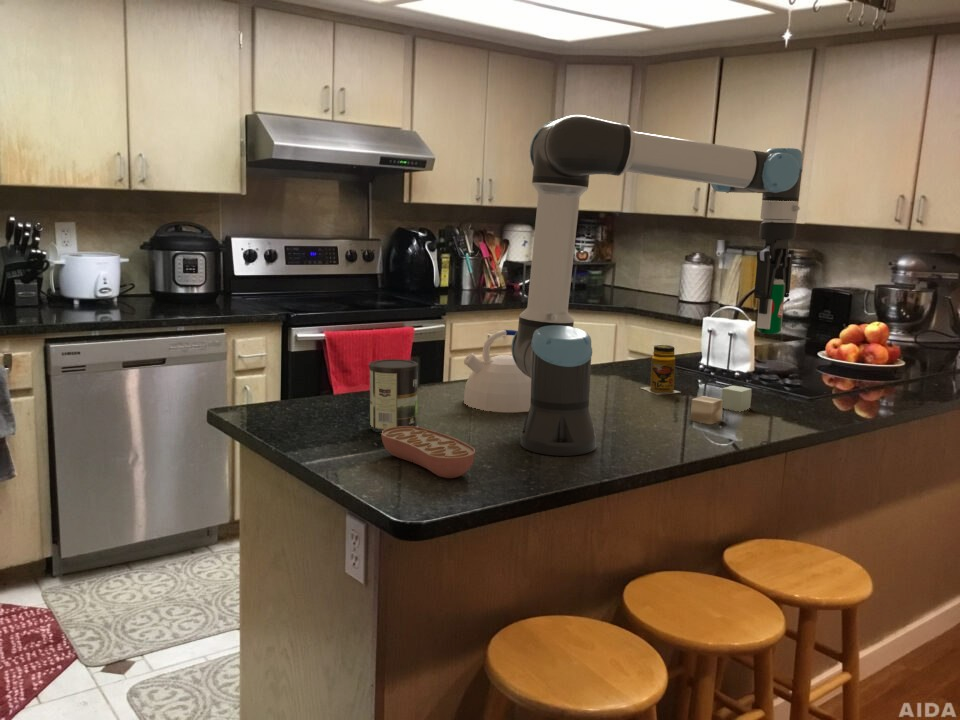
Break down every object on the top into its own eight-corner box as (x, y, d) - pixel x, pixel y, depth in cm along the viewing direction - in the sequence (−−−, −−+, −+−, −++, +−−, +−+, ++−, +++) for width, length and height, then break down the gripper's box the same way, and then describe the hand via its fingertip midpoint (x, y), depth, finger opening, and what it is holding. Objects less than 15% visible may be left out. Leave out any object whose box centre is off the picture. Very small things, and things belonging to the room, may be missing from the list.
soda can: (782, 334, 184) (787, 280, 182) (758, 333, 185) (763, 279, 183) (779, 331, 189) (783, 278, 187) (755, 330, 190) (760, 277, 188)
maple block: (710, 424, 187) (712, 403, 186) (690, 420, 191) (691, 399, 190) (721, 421, 191) (722, 399, 190) (701, 416, 194) (702, 395, 193)
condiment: (658, 395, 215) (661, 349, 213) (639, 388, 223) (641, 343, 221) (681, 393, 218) (684, 347, 216) (661, 386, 226) (664, 342, 224)
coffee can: (415, 421, 185) (415, 358, 182) (419, 434, 175) (420, 367, 172) (368, 422, 183) (368, 358, 181) (370, 435, 173) (369, 368, 171)
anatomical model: (372, 456, 160) (372, 430, 159) (415, 447, 166) (415, 423, 165) (443, 489, 142) (443, 460, 142) (488, 478, 149) (489, 450, 148)
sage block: (740, 412, 199) (741, 391, 198) (720, 408, 203) (722, 388, 202) (750, 408, 203) (751, 388, 202) (731, 405, 206) (732, 385, 205)
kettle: (451, 396, 210) (452, 324, 207) (528, 392, 217) (531, 322, 213) (476, 415, 191) (477, 337, 188) (560, 410, 198) (563, 334, 194)
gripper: (776, 222, 174) (766, 333, 178) (812, 222, 187) (802, 325, 191) (742, 220, 179) (734, 328, 183) (780, 220, 192) (771, 321, 196)
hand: (769, 326), depth 187 cm, fingers closed on soda can, 5 cm apart
